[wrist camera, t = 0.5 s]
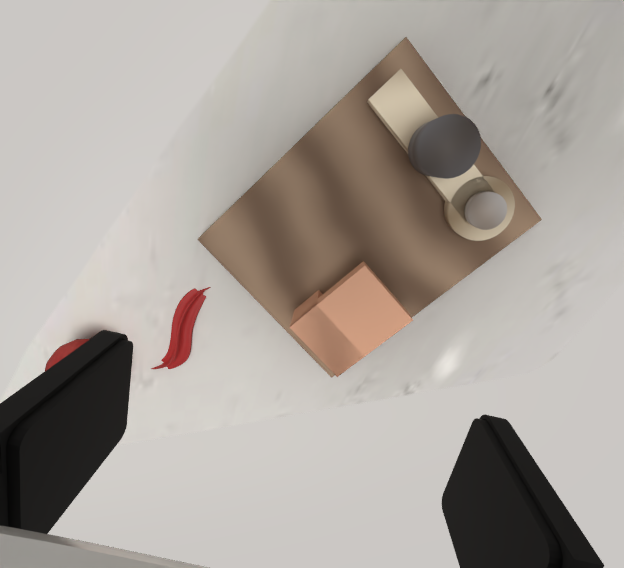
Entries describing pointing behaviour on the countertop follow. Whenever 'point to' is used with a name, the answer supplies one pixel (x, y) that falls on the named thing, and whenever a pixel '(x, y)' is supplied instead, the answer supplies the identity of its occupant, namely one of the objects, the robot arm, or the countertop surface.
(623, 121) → the countertop surface
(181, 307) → the cayenne pepper
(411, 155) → the link
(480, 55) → the countertop surface
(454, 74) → the countertop surface
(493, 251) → the board
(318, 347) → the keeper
